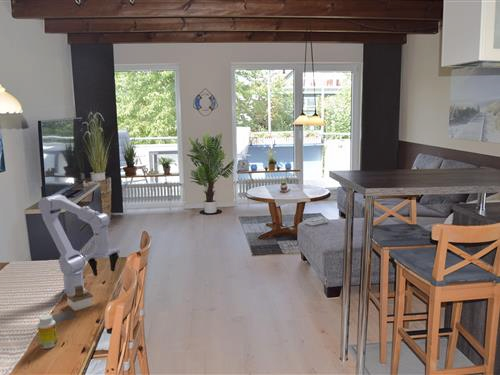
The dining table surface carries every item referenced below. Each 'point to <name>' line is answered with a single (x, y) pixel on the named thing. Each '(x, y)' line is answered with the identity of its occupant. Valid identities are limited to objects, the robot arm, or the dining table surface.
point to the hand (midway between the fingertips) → (104, 273)
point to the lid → (79, 294)
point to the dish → (80, 303)
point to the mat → (63, 316)
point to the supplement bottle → (47, 332)
